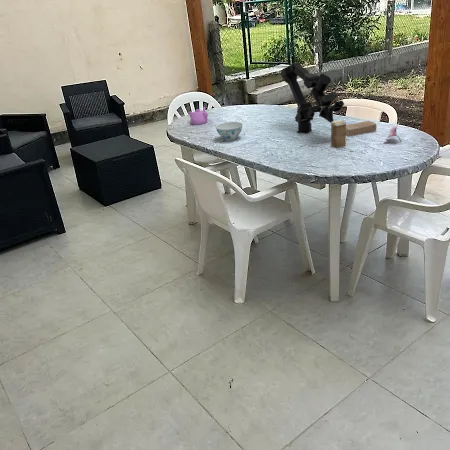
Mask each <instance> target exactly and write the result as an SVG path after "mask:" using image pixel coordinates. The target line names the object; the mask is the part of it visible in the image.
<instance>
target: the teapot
mask: <svg viewBox="0 0 450 450" xmlns="http://www.w3.org/2000/svg"><path fill="white" fill-rule="evenodd" d="M188 116H189V117H190V120H189V121H190V124H191V125H193V126H195V125H196V126H201V125H204V124H207V122H208V121H209V120H208V116H209V113H208V112H206V106H204V107H203V109H202V110H200V109H199V108H198V109H195V110H194V111H188Z"/></svg>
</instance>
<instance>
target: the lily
mask: <svg viewBox="0 0 450 450" xmlns="http://www.w3.org/2000/svg"><path fill="white" fill-rule="evenodd" d="M399 125H400V121H399V122H398V123H397V124H396V126H393V127H391V129H390V130H389V131H388V133H389V135H388V136H386V138H385V139H384V141H383V143H382V144H385V142H386V140H387V139H389V138H392V137H397V138H398V140H399V141H400V142H402V140H401V138H400V137H399V135H397V128H398V126H399Z"/></svg>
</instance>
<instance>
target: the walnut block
mask: <svg viewBox="0 0 450 450" xmlns="http://www.w3.org/2000/svg"><path fill="white" fill-rule="evenodd" d="M346 125H347V122H346V121H344V120H341V119H339V120H335V121H334V120H333V122H331V123H330V127H331V128H330V132H331V133H330V135H331V136H330V146H331V147H333V148H336V149H339V148H343V147H346V141H347V140H346V138H347V136H346Z"/></svg>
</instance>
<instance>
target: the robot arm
mask: <svg viewBox="0 0 450 450" xmlns="http://www.w3.org/2000/svg"><path fill="white" fill-rule="evenodd" d="M280 76H281V78H282V79H283V81H284V82H285V83H286V84H288V86H289V89H290V90H291V93H292V96H293V99H294V101H295V102H296V105H297V109H296V116H294V120H295V122H297V131H296V133H299V134H308V133H309V132H311V131H313V129H312V123H311V121H313V120H314V118H315V117H314V116H315V113H319V114H318V117H321V118H322V119H324V120H326V121H328V122H329V123H330V124H331V122H334V113H336V112H340V111H341V110H342V108H343V107H344V105H345V103H344V101H343V100H336V99H337V98H338V94H337V92H336V91H332V92H330V93H327V94H326V93H325V91H326V90H327V89H328V88H329V86H330V84H331V82H332V80H331V77H330V76H329V75H326V74H325V73H324V72H323V73H320V74H319V75H318V74H316V73H313V72H310V71H308V70H307V69H306V68H305V67H303V65H301V63H300V62H293V63H291V64H290V65H288V66H286V67H284V68H282V70H281V71H280ZM298 77H299V78H300V79H301V80H302V81H303V85H304V86H305V88H307V89H308V90H309V89H311V90H310V93H309V96H313V99H314V101H315V102H314V105H313V106H312V103H311V102H307V101H306V99H305V96H304V93H303V91H302V89H301V86H300V85H299V82H298ZM335 100H336V101H335ZM333 101H334V103H333ZM332 103H333V104H332Z"/></svg>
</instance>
